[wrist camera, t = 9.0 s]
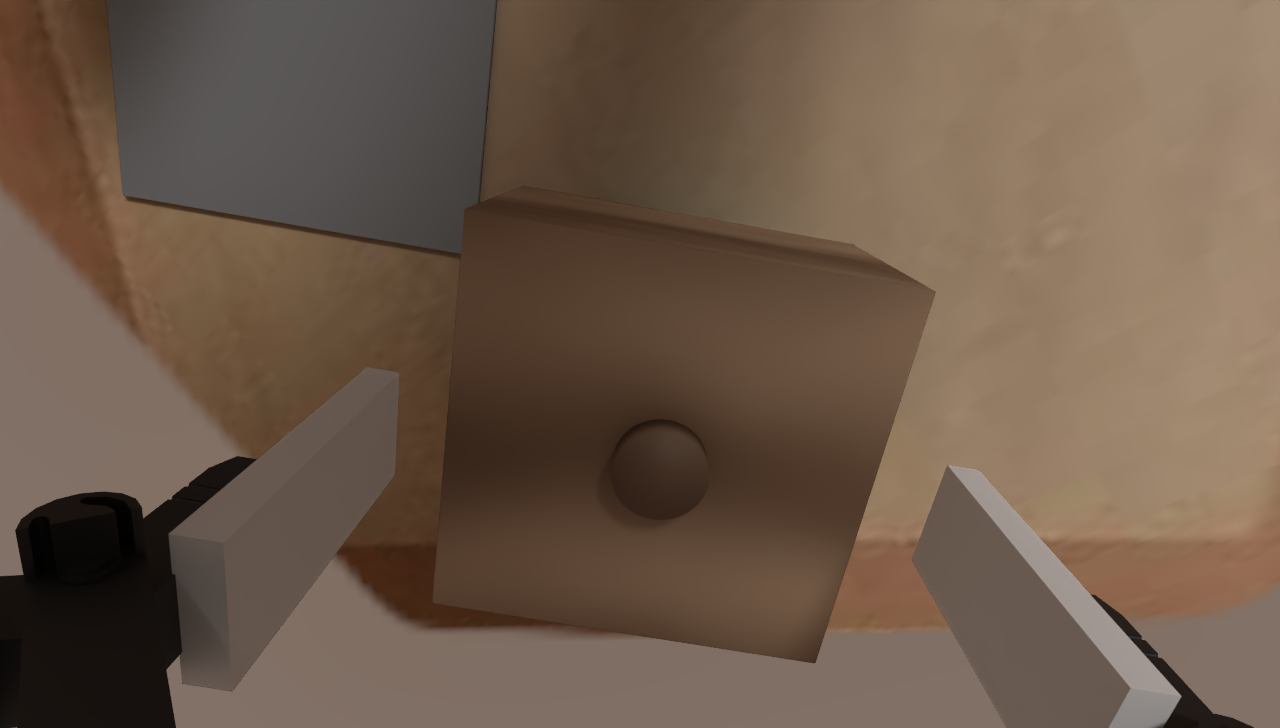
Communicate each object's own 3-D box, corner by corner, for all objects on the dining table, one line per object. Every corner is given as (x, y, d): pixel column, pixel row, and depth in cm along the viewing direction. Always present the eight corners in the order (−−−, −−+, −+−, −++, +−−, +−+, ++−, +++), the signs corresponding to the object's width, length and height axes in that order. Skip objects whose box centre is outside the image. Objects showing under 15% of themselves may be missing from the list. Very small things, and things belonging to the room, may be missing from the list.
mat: (91, -234, 22) (86, -237, 22) (510, -153, 22) (509, -156, 22) (126, 194, 27) (122, 195, 26) (474, 255, 27) (473, 256, 27)
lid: (523, 186, 22) (454, 212, 14) (852, 244, 22) (949, 300, 15) (491, 480, 25) (422, 622, 18) (774, 526, 26) (821, 685, 18)
